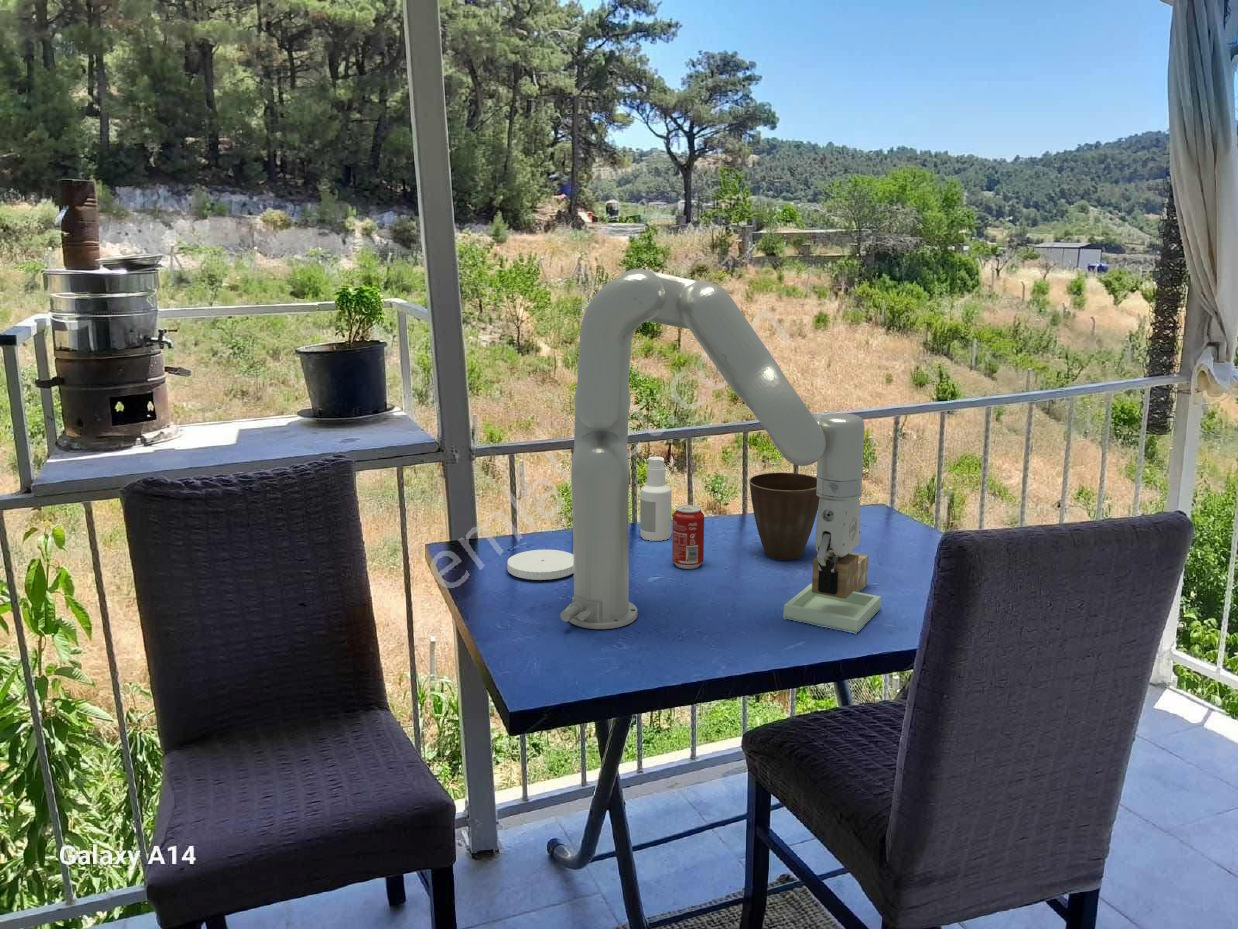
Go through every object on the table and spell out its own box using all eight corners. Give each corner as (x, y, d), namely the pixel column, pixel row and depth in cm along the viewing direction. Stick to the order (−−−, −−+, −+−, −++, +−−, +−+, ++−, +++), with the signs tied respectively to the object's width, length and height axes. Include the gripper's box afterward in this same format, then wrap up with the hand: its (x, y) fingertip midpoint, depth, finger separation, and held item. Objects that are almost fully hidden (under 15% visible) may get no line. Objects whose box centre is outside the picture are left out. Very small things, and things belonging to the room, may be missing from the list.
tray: (856, 634, 157) (857, 620, 157) (783, 619, 164) (783, 605, 164) (880, 609, 168) (881, 596, 168) (810, 596, 175) (811, 583, 174)
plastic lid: (530, 590, 179) (530, 577, 179) (494, 570, 190) (494, 558, 190) (591, 575, 187) (591, 563, 187) (554, 556, 198) (553, 545, 198)
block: (845, 598, 161) (846, 565, 160) (811, 592, 164) (813, 559, 163) (856, 588, 166) (858, 555, 165) (824, 582, 169) (825, 550, 168)
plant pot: (820, 568, 190) (824, 491, 186) (745, 564, 192) (747, 488, 188) (818, 546, 204) (822, 473, 200) (748, 542, 206) (750, 471, 203)
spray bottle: (646, 531, 215) (646, 453, 211) (675, 534, 212) (675, 456, 208) (635, 539, 209) (636, 460, 205) (665, 543, 206) (666, 462, 202)
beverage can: (703, 560, 195) (704, 504, 192) (703, 570, 189) (704, 512, 186) (672, 559, 195) (673, 503, 193) (671, 569, 189) (672, 512, 187)
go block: (854, 596, 175) (856, 565, 173) (818, 589, 178) (819, 559, 177) (866, 585, 180) (868, 555, 179) (831, 578, 184) (832, 549, 183)
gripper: (843, 501, 152) (838, 606, 156) (876, 478, 166) (871, 576, 170) (798, 495, 156) (795, 598, 160) (834, 473, 170) (830, 569, 174)
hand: (834, 586), depth 165 cm, fingers closed on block, 6 cm apart
